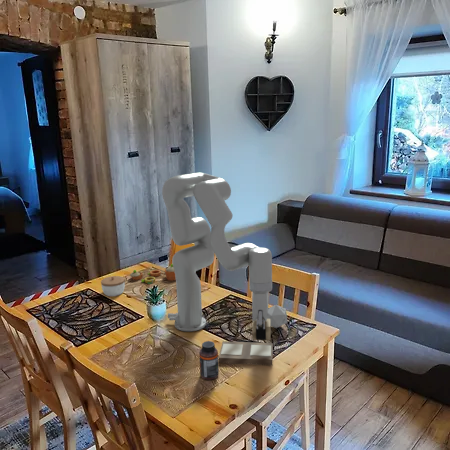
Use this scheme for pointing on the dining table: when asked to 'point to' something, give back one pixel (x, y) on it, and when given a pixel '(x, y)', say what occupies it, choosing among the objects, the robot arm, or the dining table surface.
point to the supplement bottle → (209, 361)
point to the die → (277, 316)
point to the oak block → (267, 326)
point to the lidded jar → (113, 285)
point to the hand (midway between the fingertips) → (261, 334)
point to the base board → (246, 353)
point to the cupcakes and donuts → (154, 275)
